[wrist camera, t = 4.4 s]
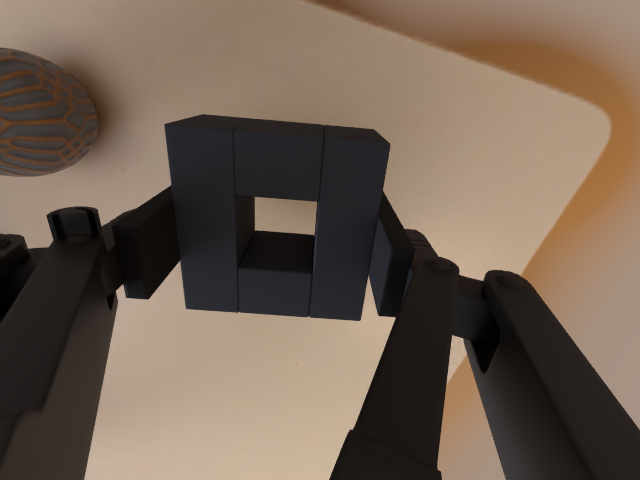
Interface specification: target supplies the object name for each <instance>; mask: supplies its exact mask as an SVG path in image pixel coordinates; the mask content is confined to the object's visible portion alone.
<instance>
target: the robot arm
mask: <svg viewBox="0 0 640 480" xmlns="http://www.w3.org/2000/svg"><path fill="white" fill-rule="evenodd" d="M46 216H47V219H48V223H49V226H50V229H51V233H52V236H53V239H54V240H53V242H52V243H51V245H50V247H46V248H31V249H28V248H27V245H26V242H25V239H24V237H23V236H20V235H14V234H6V235H4V234H0V480H84V478H85V472H86V467H87V462H88V457H89V452H90V446H91V441H92V436H93V431H94V425H95V420H96V415H97V410H98V405H99V399H100V394H101V389H102V384H103V378H104V373H105V368H106V363H107V358H108V352H109V347H110V342H111V337H112V331H113V326H114V321H115V316H116V311H117V305H118V299H117V295H116V290H117V289H118V288H119V287H120V286H121V285H122V284H123V285H124V289H125V294H126V298H135V299H149V298H150V297H151V296H152V294H153V293H154V292H155V291H156V289H157V288H158V287H159V286H160V285H161V283H162V282H163V281H164V280H165V278H166V277H167V276H168V275H169V273H170V272H171V271H172V270H173V268H174V267H175V266H176V265H177V264H178V262H179V261H180V253H179V245H178V236H177V228H176V219H175V210H174V202H173V194H172V185H171V186H170V187H168V188H167V189H165V190H164V191H162V192H161V193H159V194H158V195H156V196H155V197H153V198H152V199H150V200H149V201H147V202H146V203H144V204H143V205H141V206H140V207H138V208H137V209H133V210H130V211H127V212H124V213H122V214H121V215H119V216H118V217H116V219H113V220H112V221H110V223H107V224H105V225H104V226H102V227H101V223H100V218H99V214H98V210H97V209H95V208H92V207H68V208H63V209H58V210H56V211H53V212H50V213H49V214H48V215H46ZM368 275H369V279H370V283H371V287H372V292H373V296H374V300H375V304H376V309H377V313H378V316H386V317H396V319H395V322H394V324H393V327H392V330H391V332H390V335H389V338H388V340H387V343H386V345H385V348H384V351H383V353H382V356H381V359H380V361H379V364H378V367H377V369H376V372H375V374H374V377H373V380H372V382H371V385H370V388H369V390H368V393H367V396H366V398H365V401H364V403H363V406H362V409H361V411H360V414H359V417H358V419H357V422H356V424H355V427H354V429H353V430H351V429H350V431H349V433H348V434H347V437H346V439H345V441H344V444H343V446H342V449H341V451H340V454H339V456H338V459H337V461H336V464H335V466H334V469H333V471H332V474H331V477H330V479H329V480H442V477H441V471H439V470H437V461H438V451H439V443H440V435H441V434H440V433H441V426H442V417H443V409H444V400H445V391H446V383H447V374H448V365H449V357H450V348H451V339H452V335H454V336H457V337H461V338H464V345H465V348H466V351H467V355H468V358H469V361H470V364H471V368H472V371H473V374H474V377H475V381H476V384H477V387H478V390H479V393H480V397H481V400H482V403H483V407H484V410H485V413H486V416H487V420H488V423H489V426H490V429H491V433H492V436H493V439H494V442H495V446H496V449H497V452H498V455H499V459H500V462H501V465H502V468H503V472H504V475H505V478H506V480H640V430H639V429H638V427H637V426H636V424H635V423H634V422H633V420H632V419H631V418H630V416H629V415H628V414H627V412H626V411H625V410H624V408H623V407H622V406H621V404H620V403H619V402H618V400H617V399H616V398H615V396H614V395H613V394H612V392H611V391H610V390H609V388H608V387H607V386H606V384H605V383H604V381H603V380H602V379H601V377H600V376H599V375H598V373H597V372H596V371H595V369H594V368H593V367H592V366H591V364H590V363H589V361H588V360H587V359H586V357H585V356H584V355H583V353H582V352H581V351H580V349H579V348H578V347H577V345H576V344H575V343H574V342H573V340H572V339H571V337H570V336H569V335H568V333H567V332H566V331H565V329H564V328H563V326H562V325H561V324H560V322H559V321H558V320H557V319H556V317H555V316H554V315H553V313H552V312H551V310H550V309H549V308H548V306H547V305H546V304H545V302H544V301H543V300H542V298H541V297H540V296H539V294H538V293H537V292H536V290H535V289H534V288H533V286H532V285H531V284H530V283H529V282H528V281H527V280H526V279H524V278H522V277H520V276H519V275H518V274H515V273H514V274H513V272H510V271H507V272H506V271H502V270H491V271H488V272H487V273H486V275H485V277H484V280H483V281H480V280H476V279H472V278H468V277H464V276H461V275H459V268H458V266H457V265H456V264H455V263H453V262H452V261H450V260H448V259H445V258H442V257H438V255H437V254H436V252H435V251H434V249H433V248H432V247H431V245H430V243H429V242H428V240H427V239H426V237H425V236H424V235H423V234H421V233H420V232H418V231H417V230H412V229H404V228H403V226H402V224H401V222H400V221H399V219H398V217H397V215H396V213H395V212H394V210H393V208H392V206H391V204H390V203H389V201H388V199H387V197H386V195H385V194H384V192H382V198H381V204H380V209H379V215H378V220H377V226H376V231H375V237H374V243H373V249H372V255H371V261H370V267H369V273H368Z"/></svg>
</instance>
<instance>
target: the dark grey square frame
mask: <svg viewBox="0 0 640 480" xmlns="http://www.w3.org/2000/svg"><path fill="white" fill-rule="evenodd" d="M165 134H166V142H167V151H168V160H169V168H170V177H171V185H172V194H173V202H174V210H175V219H176V228H177V236H178V245H179V253H180V262H181V271H182V280H183V288H184V297H185V305H186V309H194V310H208V311H222V312H236V313H238V312H241V313H255V314H269V315H283V316H297V317H308V316H309V317H311V318H325V319H339V320H353V321H360V320H361V315H362V309H363V303H364V298H365V292H366V286H367V280H368V273H369V267H370V261H371V255H372V249H373V243H374V237H375V231H376V226H377V220H378V215H379V209H380V204H381V198H382V192H383V186H384V180H385V174H386V168H387V162H388V157H389V151H390V143H389V142H388V141H386V140H385V139H384V138H383V137H382V136H381V135H380V134H379V133H377V132H376V131H375V130H374V129H364V128H353V127H341V126H330V125H325V126H323V125H320V124H308V123H297V122H285V121H274V120H262V119H251V118H239V117H228V116H216V115H205V114H202V115H198V116H194V117H190V118H186V119H183V120H179V121H175V122H171V123H167V124H165ZM255 197H267V198H279V199H291V200H304V201H316V202H317V212H316V224H315V236H314V235H308V234H295V233H282V232H269V231H255Z"/></svg>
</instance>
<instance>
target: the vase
mask: <svg viewBox="0 0 640 480" xmlns="http://www.w3.org/2000/svg"><path fill="white" fill-rule="evenodd" d="M97 133H98V118H97V113H96V110H95V107H94V104H93V102H92V100H91V98H90V97H89V95H88V93H87V92H86V90H85V89H84V88H83V87H82V85H81V84H80V83H79V82H78V81H77V80H76V79H75V78H74V77H72V76H71V75H70V74H69V73H67V72H66V71H65V70H63V69H62V68H60V67H59V66H57V65H55V64H53V63H51V62H50V61H48V60H45V59H43V58H41V57H38V56H36V55H33V54H30V53H27V52H23V51H19V50H14V49H8V48H1V47H0V175H6V176H17V177H33V176H42V175H47V174H51V173H55V172H58V171H61V170H63V169H66V168H68V167H70V166H72V165H74V164H75V163H77V162H78V161H80V160H81V159H82V158H83V157H84V156H85V155H86V154H87V153H88V152H89V151H90V149H91V148H92V146H93V144H94V142H95V140H96V137H97Z"/></svg>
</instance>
